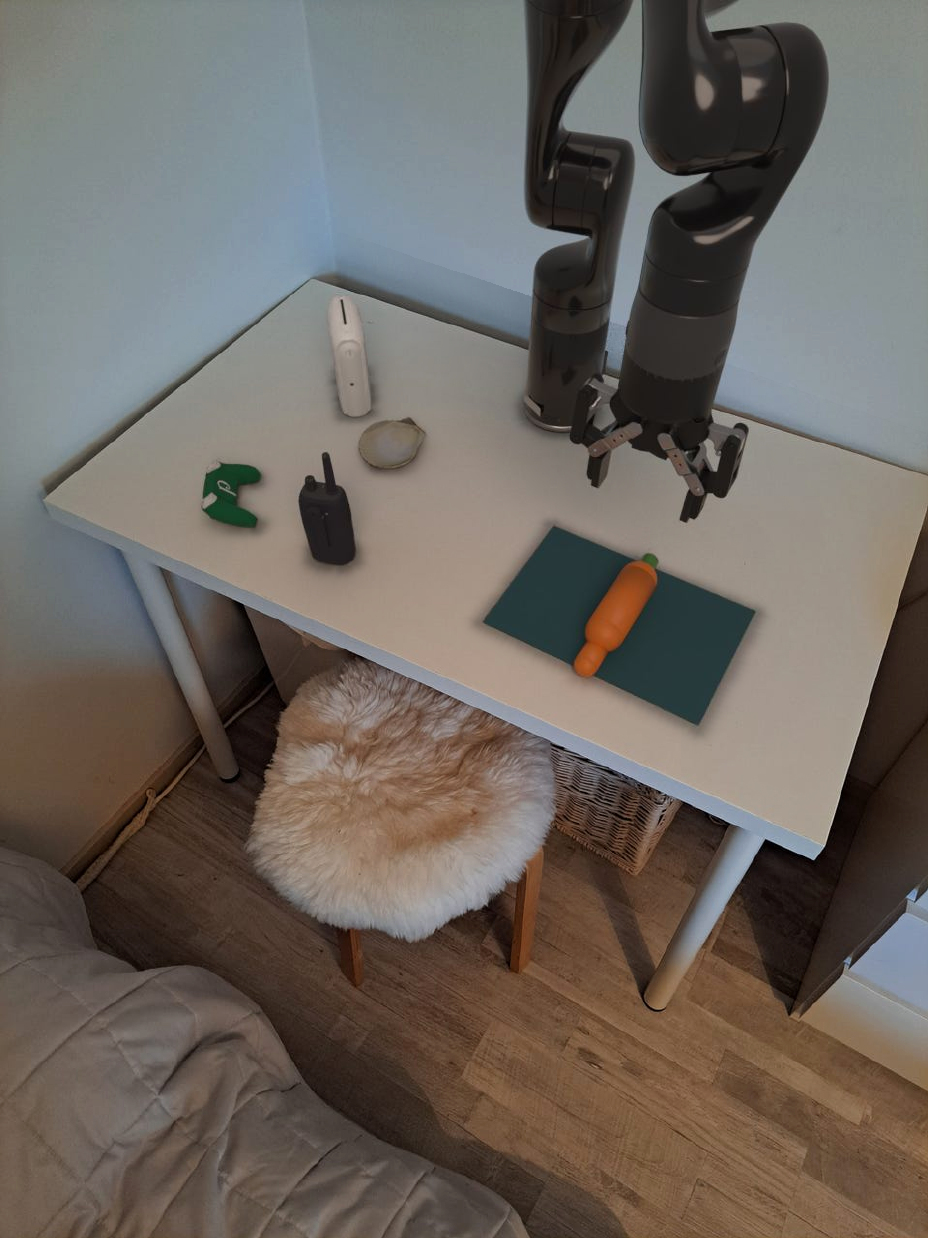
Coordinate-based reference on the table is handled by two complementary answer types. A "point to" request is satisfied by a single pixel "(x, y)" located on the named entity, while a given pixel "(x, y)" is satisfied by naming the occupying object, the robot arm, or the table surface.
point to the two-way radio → (327, 518)
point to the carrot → (617, 613)
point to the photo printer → (349, 356)
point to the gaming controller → (228, 493)
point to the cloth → (658, 640)
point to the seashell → (391, 443)
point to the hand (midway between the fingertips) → (641, 498)
